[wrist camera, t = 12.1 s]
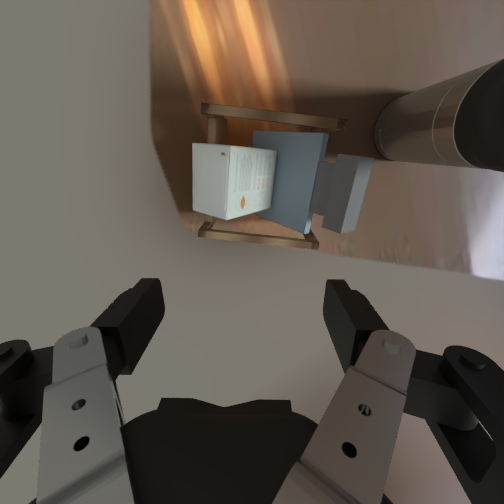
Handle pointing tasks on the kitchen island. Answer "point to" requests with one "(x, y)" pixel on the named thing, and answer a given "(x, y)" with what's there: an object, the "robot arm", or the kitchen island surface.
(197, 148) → the small box
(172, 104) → the kitchen island surface
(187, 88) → the kitchen island surface
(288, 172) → the trapdoor
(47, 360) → the robot arm
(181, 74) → the kitchen island surface
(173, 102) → the kitchen island surface
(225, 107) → the trapdoor frame
